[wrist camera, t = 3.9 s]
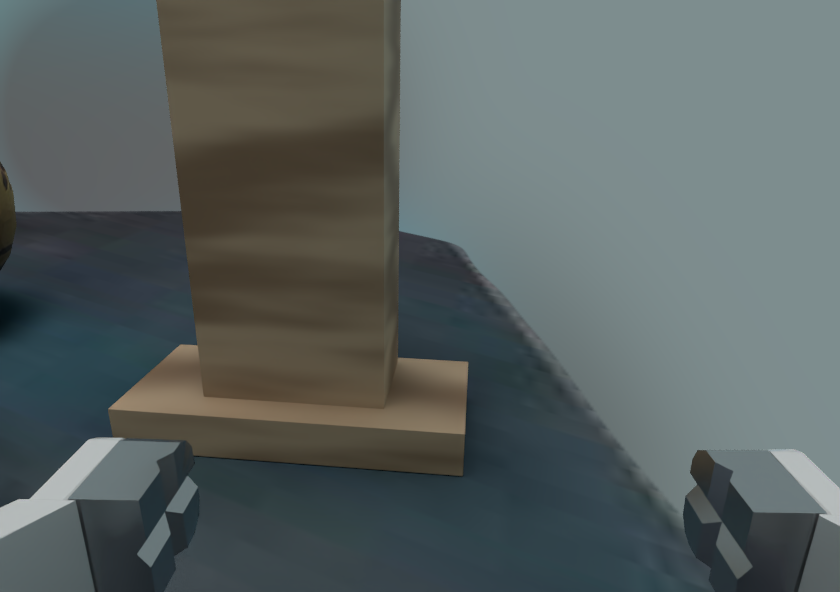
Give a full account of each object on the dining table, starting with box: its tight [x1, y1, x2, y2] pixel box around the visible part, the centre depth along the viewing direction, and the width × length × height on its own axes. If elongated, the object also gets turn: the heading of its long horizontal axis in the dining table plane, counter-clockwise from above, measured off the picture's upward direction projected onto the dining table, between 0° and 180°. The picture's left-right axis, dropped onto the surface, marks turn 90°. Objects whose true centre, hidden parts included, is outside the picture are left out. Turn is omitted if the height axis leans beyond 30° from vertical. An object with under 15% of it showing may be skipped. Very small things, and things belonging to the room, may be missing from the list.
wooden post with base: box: [108, 0, 468, 476], centre depth 24 cm, size 6×15×26 cm, turn 85°
